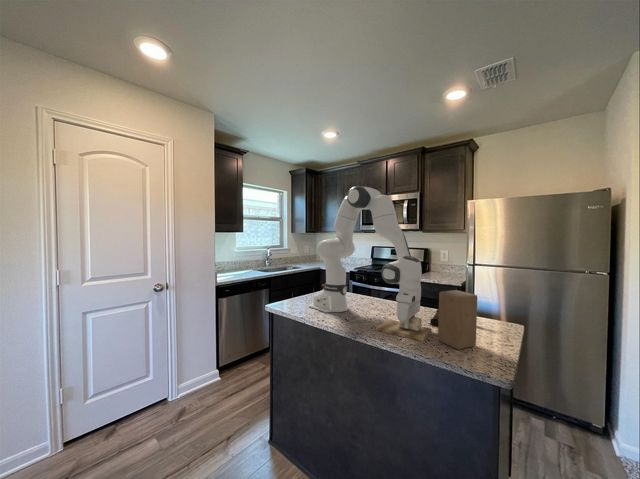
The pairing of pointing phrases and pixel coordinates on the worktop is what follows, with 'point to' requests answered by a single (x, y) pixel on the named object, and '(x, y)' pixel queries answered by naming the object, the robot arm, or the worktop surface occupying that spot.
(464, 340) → the wooden block
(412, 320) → the sanding block
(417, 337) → the board
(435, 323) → the hand tool
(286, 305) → the worktop surface
